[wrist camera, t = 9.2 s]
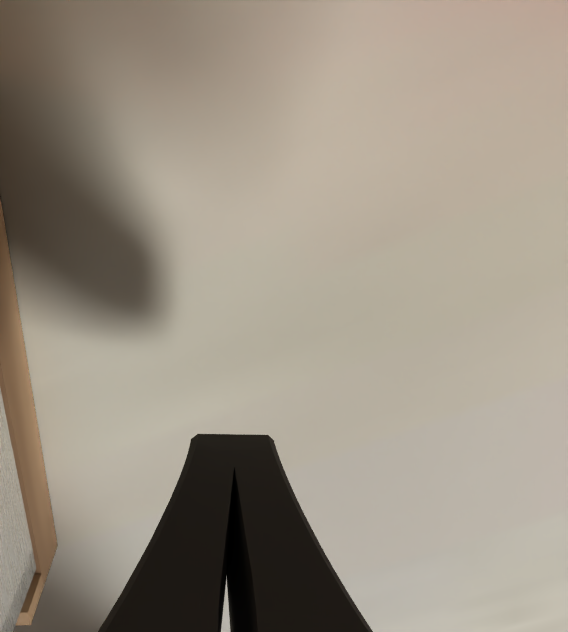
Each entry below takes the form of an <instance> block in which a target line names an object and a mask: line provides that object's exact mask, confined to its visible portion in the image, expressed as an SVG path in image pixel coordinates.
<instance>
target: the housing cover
mask: <svg viewBox="0 0 568 632" xmlns="http://www.w3.org/2000/svg"><path fill="white" fill-rule="evenodd" d="M35 570H36V564H35V559H34V554H33V549H32V544H31V539H30V534H29V529H28V524H27V519H26V514H25V509H24V504H23V499H22V494H21V489H20V484H19V479H18V474H17V469H16V464H15V459H14V454H13V449H12V444H11V439H10V434H9V429H8V424H7V419H6V414H5V409H4V404H3V399H2V394H1V389H0V632H13V631H14V628H15V625H16V623H17V620H18V617H19V614H20V612H21V609H22V606H23V603H24V601H25V598H26V595H27V592H28V590H29V587H30V584H31V581H32V579H33V576H34V573H35Z"/></svg>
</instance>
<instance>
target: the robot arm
mask: <svg viewBox="0 0 568 632" xmlns="http://www.w3.org/2000/svg"><path fill="white" fill-rule="evenodd" d="M226 575H227V587H228V601H229V615H230V629H231V632H373V631H372V630H371V628H370V627H369V625H368V624H367V622H366V621H365V619H364V618H363V616H362V615H361V613H360V611H359V610H358V608H357V607H356V605H355V604H354V602H353V600H352V599H351V597H350V596H349V594H348V592H347V591H346V589H345V587H344V586H343V584H342V582H341V581H340V579H339V577H338V575H337V574H336V572H335V570H334V569H333V567H332V565H331V564H330V562H329V560H328V558H327V557H326V555H325V553H324V551H323V549H322V548H321V546H320V544H319V542H318V540H317V538H316V536H315V534H314V532H313V530H312V529H311V527H310V525H309V523H308V521H307V519H306V517H305V515H304V513H303V511H302V509H301V507H300V505H299V503H298V501H297V499H296V497H295V494H294V492H293V490H292V488H291V485H290V483H289V481H288V479H287V476H286V474H285V471H284V469H283V466H282V464H281V461H280V459H279V456H278V453H277V450H276V447H275V444H274V440H273V439H272V438H271V437H270V436H269V435H230V434H197V435H196V436H195V437H193V438H192V439H191V443H190V447H189V451H188V455H187V458H186V461H185V464H184V467H183V470H182V472H181V475H180V478H179V480H178V482H177V485H176V487H175V490H174V492H173V494H172V497H171V499H170V501H169V503H168V505H167V507H166V509H165V512H164V514H163V516H162V518H161V520H160V522H159V524H158V526H157V528H156V530H155V532H154V535H153V537H152V539H151V540H150V542H149V544H148V546H147V548H146V550H145V552H144V554H143V555H142V557H141V559H140V561H139V563H138V564H137V566H136V568H135V570H134V572H133V573H132V575H131V577H130V579H129V581H128V582H127V584H126V586H125V588H124V590H123V591H122V593H121V595H120V597H119V598H118V600H117V602H116V603H115V605H114V607H113V608H112V610H111V612H110V613H109V615H108V617H107V618H106V620H105V621H104V623H103V625H102V626H101V628H100V629H99V631H98V632H221V624H222V614H223V605H224V595H225V585H226Z"/></svg>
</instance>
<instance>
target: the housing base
mask: <svg viewBox="0 0 568 632" xmlns="http://www.w3.org/2000/svg"><path fill="white" fill-rule="evenodd" d="M0 389H1V394H2V399H3V404H4V409H5V414H6V419H7V424H8V429H9V434H10V439H11V444H12V449H13V454H14V459H15V464H16V469H17V474H18V479H19V484H20V489H21V494H22V499H23V504H24V509H25V514H26V519H27V524H28V529H29V534H30V539H31V544H32V549H33V554H34V559H35V564H36V570H35V573H34V576H33V579H32V581H31V584H30V587H29V590H28V592H27V595H26V598H25V601H24V603H23V606H22V609H21V612H20V614H19V617H18V620H17V623H16V625H31V623H32V620H33V617H34V614H35V611H36V608H37V605H38V602H39V599H40V596H41V593H42V590H43V587H44V584H45V581H46V578H47V575H48V572H49V569H50V566H51V564H52V561H53V558H54V555H55V552H56V549H57V539H56V533H55V527H54V521H53V515H52V509H51V503H50V497H49V491H48V485H47V479H46V472H45V466H44V460H43V454H42V448H41V442H40V436H39V430H38V424H37V418H36V412H35V405H34V399H33V393H32V387H31V381H30V375H29V369H28V363H27V357H26V351H25V345H24V338H23V332H22V326H21V320H20V314H19V308H18V302H17V296H16V290H15V284H14V278H13V271H12V265H11V259H10V253H9V247H8V241H7V235H6V229H5V223H4V217H3V211H2V204H1V198H0ZM16 625H15V626H16Z"/></svg>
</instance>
